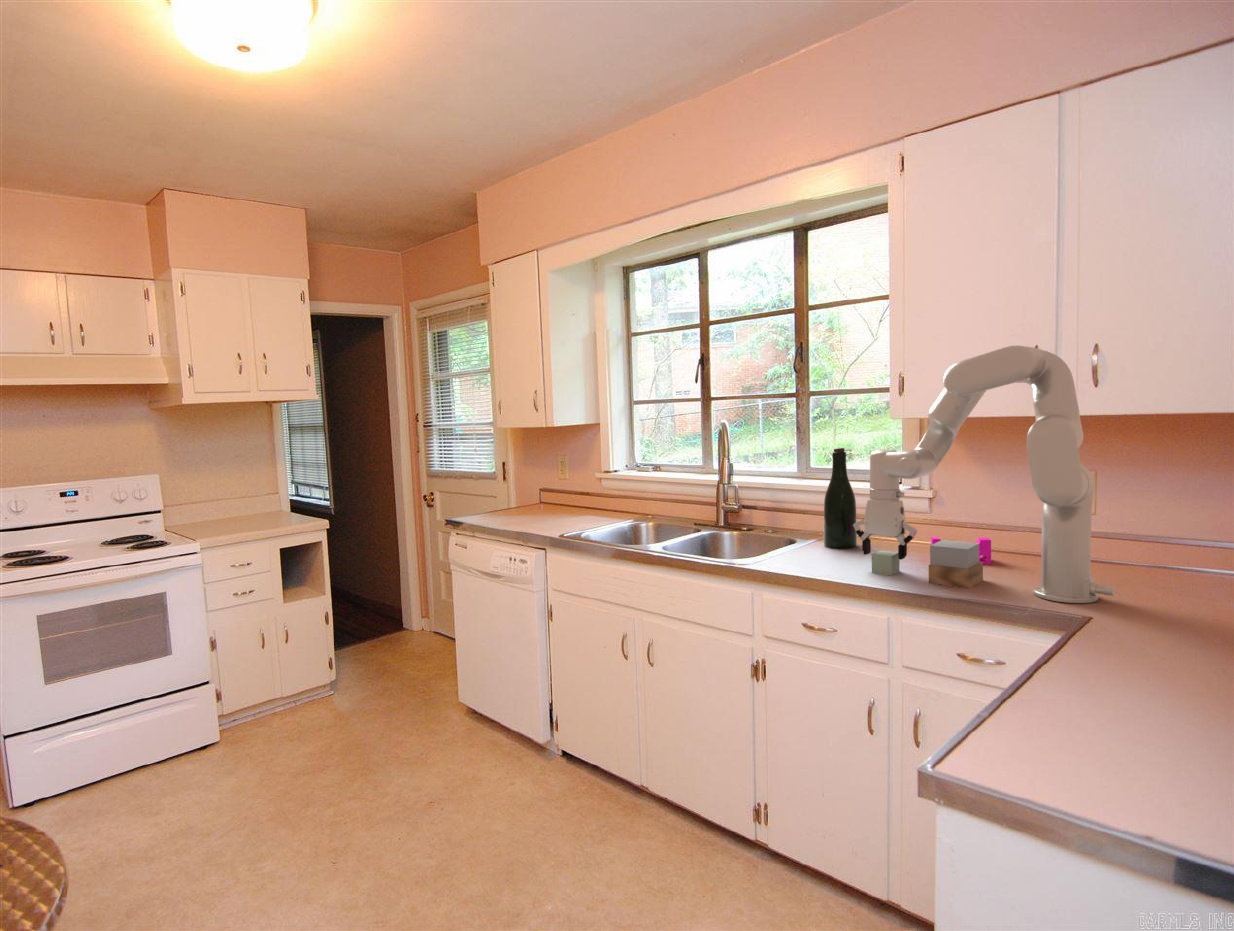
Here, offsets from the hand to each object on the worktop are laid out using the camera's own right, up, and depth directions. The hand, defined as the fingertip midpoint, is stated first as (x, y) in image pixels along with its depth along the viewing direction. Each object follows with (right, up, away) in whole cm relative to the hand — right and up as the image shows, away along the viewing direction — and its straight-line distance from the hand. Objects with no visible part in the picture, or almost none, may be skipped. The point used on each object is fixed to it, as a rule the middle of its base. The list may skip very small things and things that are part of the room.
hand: (884, 556), depth 185 cm
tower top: (+13, 0, -13) cm, 18 cm away
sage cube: (0, -5, 0) cm, 5 cm away
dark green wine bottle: (0, -2, +35) cm, 35 cm away
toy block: (+25, -3, +8) cm, 27 cm away
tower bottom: (+14, -5, -13) cm, 19 cm away
